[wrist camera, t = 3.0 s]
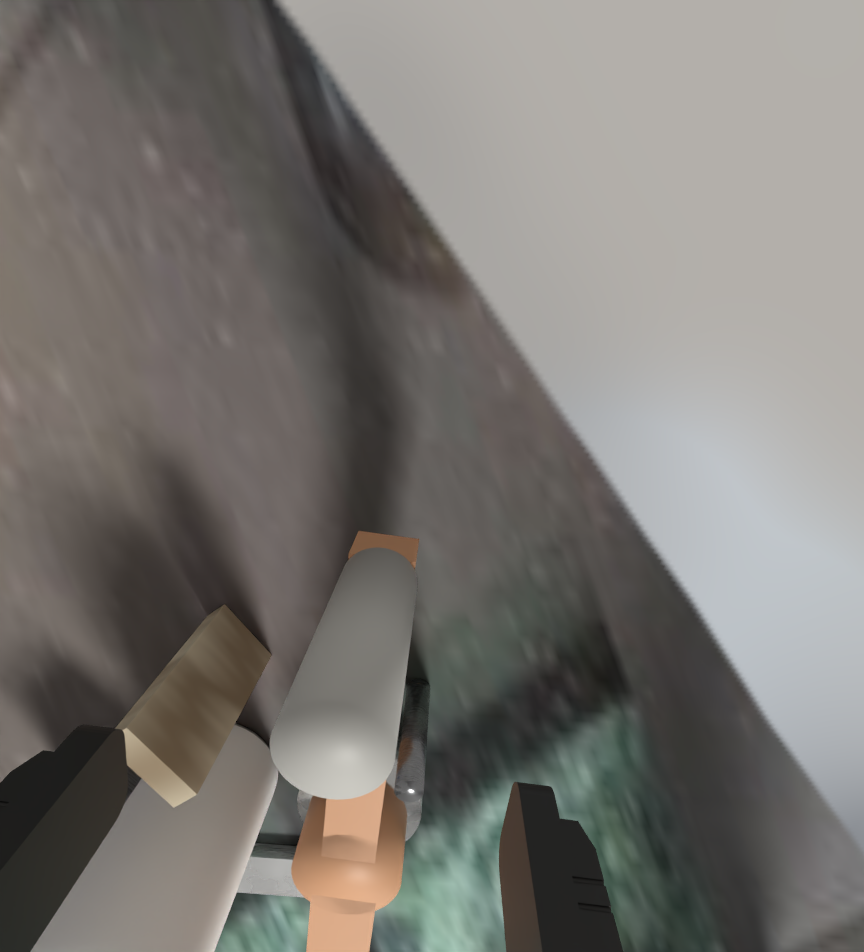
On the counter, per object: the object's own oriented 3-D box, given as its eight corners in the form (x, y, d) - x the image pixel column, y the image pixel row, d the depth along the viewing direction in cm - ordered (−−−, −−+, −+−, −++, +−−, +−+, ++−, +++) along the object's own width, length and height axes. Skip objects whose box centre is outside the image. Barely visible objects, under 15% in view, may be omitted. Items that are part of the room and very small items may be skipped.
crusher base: (430, 679, 26) (422, 803, 20) (419, 891, 31) (410, 1050, 24) (44, 654, 27) (-92, 767, 20) (90, 866, 31) (-8, 1015, 25)
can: (172, 702, 27) (-30, 980, 16) (290, 730, 28) (174, 1024, 16) (161, 791, 29) (-27, 1095, 18) (271, 816, 30) (156, 1132, 18)
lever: (393, 909, 28) (358, 1242, 18) (302, 896, 28) (217, 1223, 18) (453, 524, 21) (453, 715, 11) (332, 507, 21) (221, 684, 11)
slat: (271, 654, 26) (197, 794, 19) (254, 666, 26) (173, 808, 19) (224, 604, 25) (126, 727, 18) (207, 615, 26) (103, 742, 18)
